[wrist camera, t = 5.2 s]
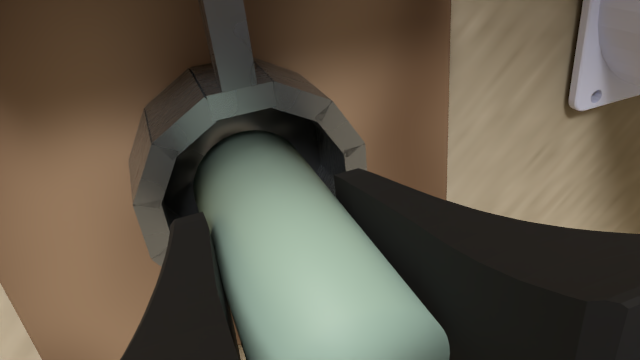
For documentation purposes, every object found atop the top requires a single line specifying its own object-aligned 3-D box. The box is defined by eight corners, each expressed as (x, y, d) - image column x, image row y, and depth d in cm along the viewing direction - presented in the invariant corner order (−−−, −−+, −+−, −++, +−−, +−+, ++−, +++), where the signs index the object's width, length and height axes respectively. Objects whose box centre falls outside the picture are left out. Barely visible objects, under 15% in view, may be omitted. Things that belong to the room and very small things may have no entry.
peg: (304, 123, 13) (462, 287, 7) (305, 221, 15) (437, 425, 9) (187, 138, 12) (262, 339, 6) (199, 241, 14) (270, 484, 8)
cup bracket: (429, -146, 14) (574, -172, 10) (428, 254, 21) (512, 343, 17) (-168, -81, 10) (-358, -75, 6) (69, 377, 17) (58, 530, 13)
